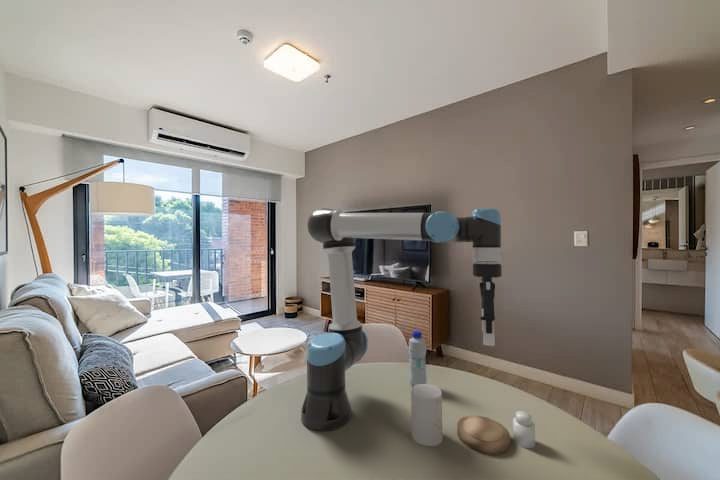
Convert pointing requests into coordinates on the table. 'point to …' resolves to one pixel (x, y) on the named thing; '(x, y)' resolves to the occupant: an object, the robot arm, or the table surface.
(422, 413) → the white cylindrical piece
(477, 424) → the brown wooden plate
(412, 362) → the bottle
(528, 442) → the white knobbed rounded part
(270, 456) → the table surface
